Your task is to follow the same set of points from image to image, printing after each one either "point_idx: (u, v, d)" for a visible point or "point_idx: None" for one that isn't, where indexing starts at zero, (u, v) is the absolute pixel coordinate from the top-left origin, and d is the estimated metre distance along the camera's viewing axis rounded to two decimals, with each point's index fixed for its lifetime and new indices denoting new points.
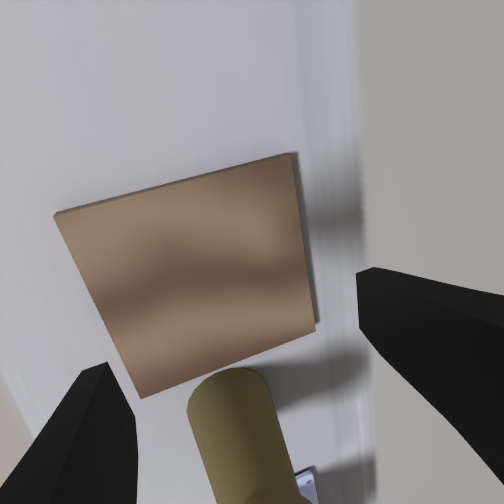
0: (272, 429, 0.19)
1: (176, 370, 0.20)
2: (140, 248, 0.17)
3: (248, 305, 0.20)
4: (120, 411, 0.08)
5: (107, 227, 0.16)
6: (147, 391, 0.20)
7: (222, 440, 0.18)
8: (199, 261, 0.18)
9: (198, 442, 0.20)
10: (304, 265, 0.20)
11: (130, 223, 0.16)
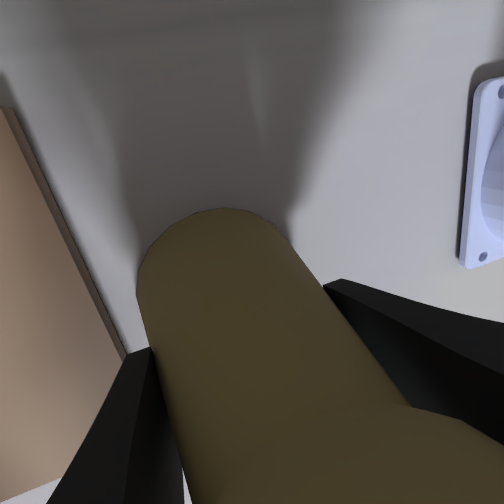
0: (179, 329, 0.07)
1: None
2: None
3: None
4: None
5: None
6: None
7: None
8: None
9: None
10: None
11: None
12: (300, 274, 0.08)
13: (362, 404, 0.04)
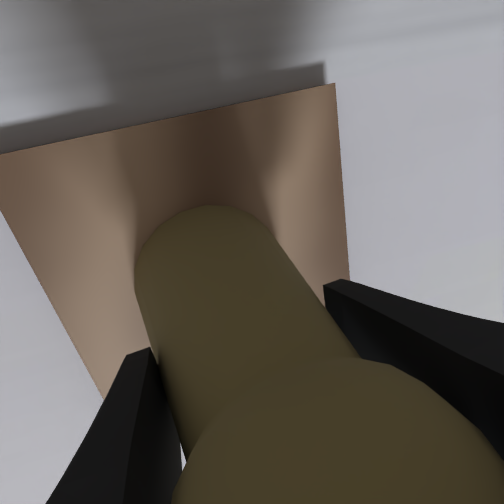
0: (167, 315, 0.08)
1: None
2: None
3: (258, 216, 0.13)
4: (163, 394, 0.08)
5: None
6: None
7: None
8: None
9: None
10: (197, 117, 0.11)
11: None
12: (272, 259, 0.09)
13: (308, 358, 0.05)
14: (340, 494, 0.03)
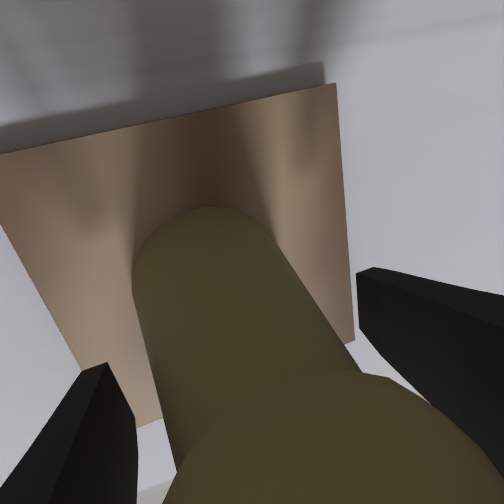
0: (162, 321, 0.08)
1: (331, 306, 0.15)
2: None
3: (257, 218, 0.13)
4: (120, 411, 0.08)
5: (129, 392, 0.14)
6: (347, 334, 0.16)
7: None
8: None
9: None
10: (196, 118, 0.11)
11: (122, 373, 0.13)
12: (270, 263, 0.09)
13: (303, 370, 0.05)
14: None
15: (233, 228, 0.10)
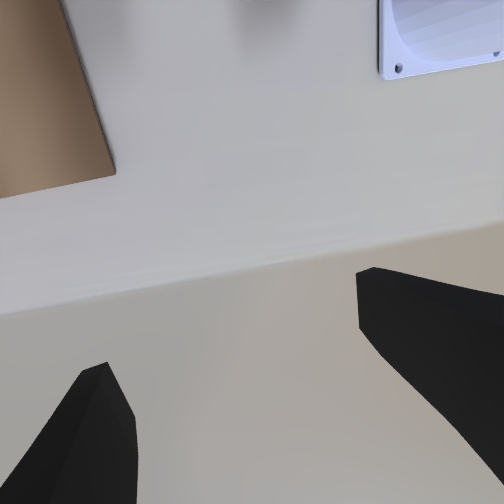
0: None
1: (69, 121, 0.14)
2: None
3: None
4: (120, 411, 0.08)
5: None
6: (102, 165, 0.15)
7: None
8: None
9: None
10: None
11: None
12: None
13: None
14: None
15: None
